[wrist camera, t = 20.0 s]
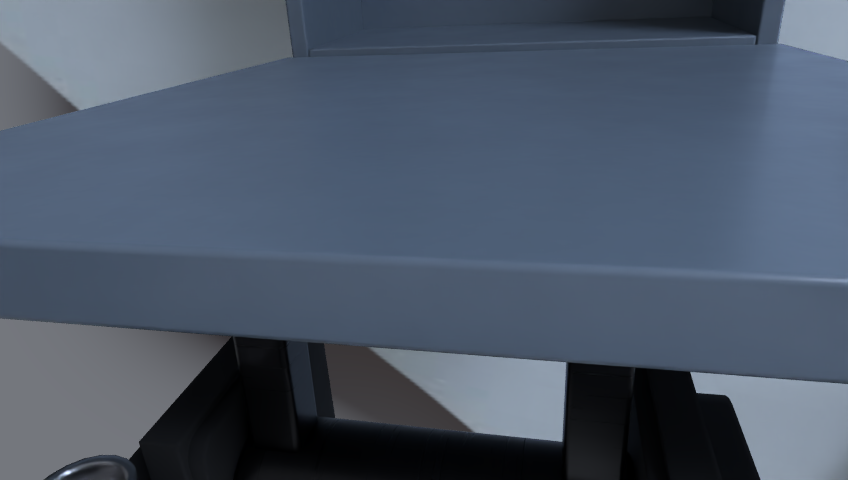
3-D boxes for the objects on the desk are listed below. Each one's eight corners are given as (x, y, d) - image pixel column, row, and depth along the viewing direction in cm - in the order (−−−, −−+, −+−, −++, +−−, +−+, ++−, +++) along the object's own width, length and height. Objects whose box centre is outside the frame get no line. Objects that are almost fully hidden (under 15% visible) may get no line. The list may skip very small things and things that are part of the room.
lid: (-374, 223, 6) (-156, 603, 8) (1877, 326, 3) (1309, 911, 5) (286, 57, 21) (305, 208, 23) (783, 43, 17) (753, 221, 19)
